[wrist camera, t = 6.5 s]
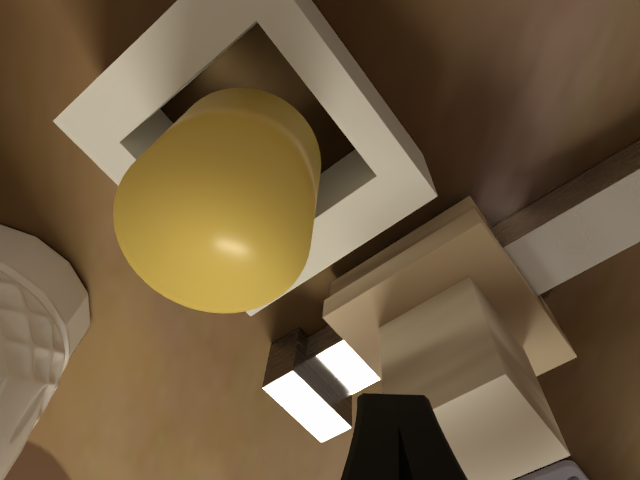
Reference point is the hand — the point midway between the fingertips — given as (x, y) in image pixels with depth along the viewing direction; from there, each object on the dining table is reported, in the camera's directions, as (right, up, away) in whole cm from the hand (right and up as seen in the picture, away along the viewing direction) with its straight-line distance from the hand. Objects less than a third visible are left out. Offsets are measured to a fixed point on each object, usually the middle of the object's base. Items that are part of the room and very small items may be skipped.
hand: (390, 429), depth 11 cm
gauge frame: (-3, +8, +7) cm, 11 cm away
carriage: (+3, +2, +9) cm, 10 cm away
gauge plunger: (-3, +6, +3) cm, 8 cm away
